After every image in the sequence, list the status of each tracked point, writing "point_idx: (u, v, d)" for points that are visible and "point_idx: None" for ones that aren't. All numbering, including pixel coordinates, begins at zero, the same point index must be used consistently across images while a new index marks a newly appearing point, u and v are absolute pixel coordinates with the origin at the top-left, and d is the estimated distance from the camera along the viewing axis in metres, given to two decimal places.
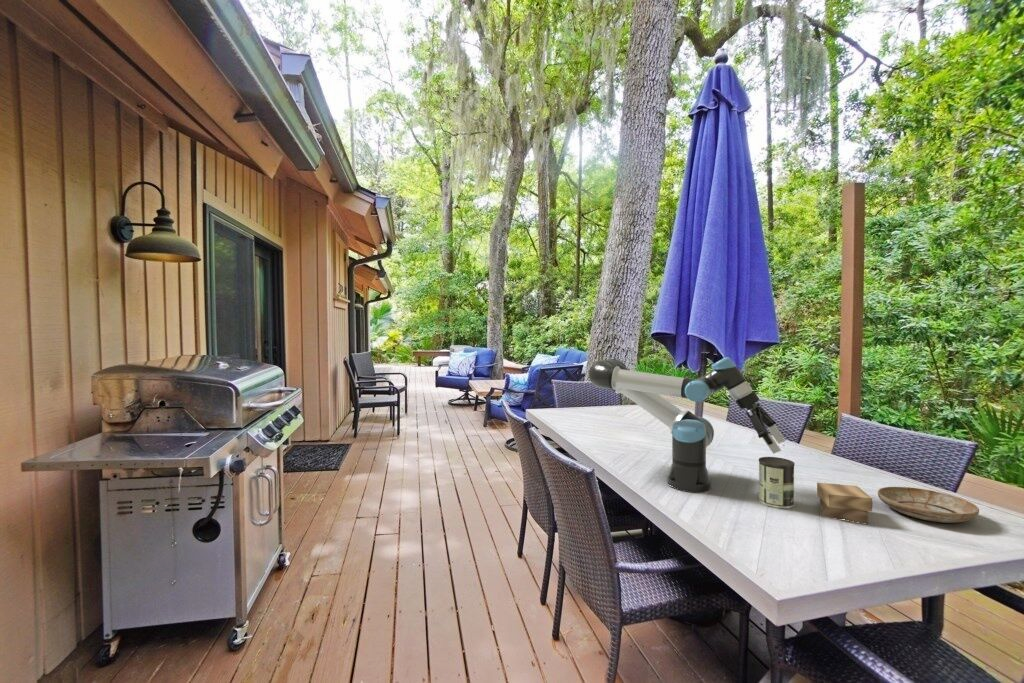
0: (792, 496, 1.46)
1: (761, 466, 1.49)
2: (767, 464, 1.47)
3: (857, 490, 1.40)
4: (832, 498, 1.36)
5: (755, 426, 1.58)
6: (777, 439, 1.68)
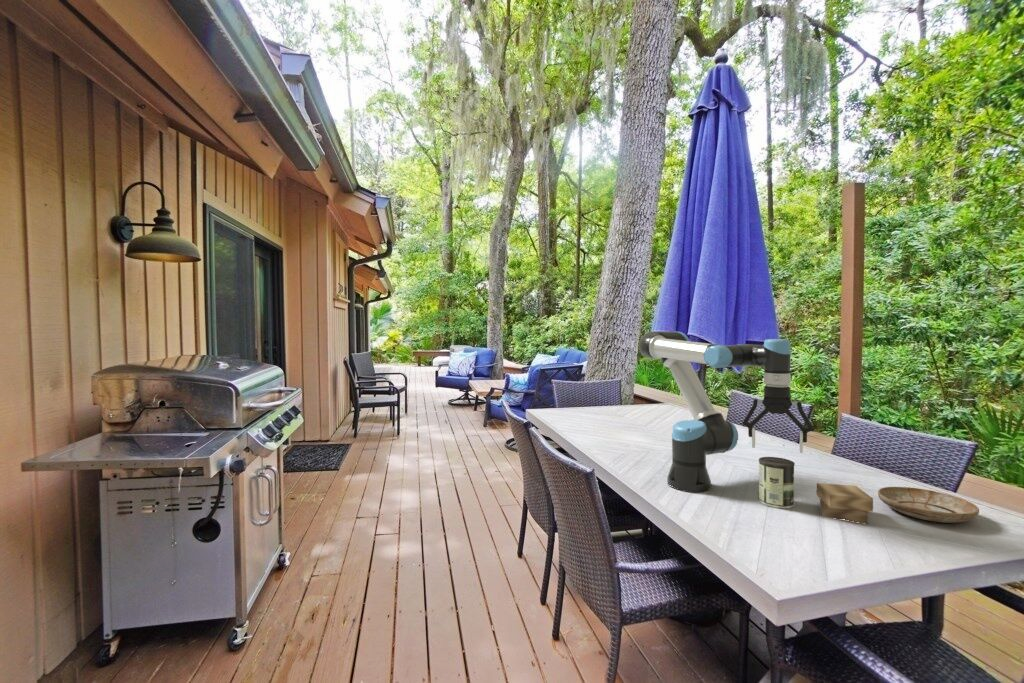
0: (792, 496, 1.46)
1: (761, 466, 1.49)
2: (767, 464, 1.47)
3: (856, 490, 1.40)
4: (833, 499, 1.36)
5: (747, 414, 1.54)
6: None
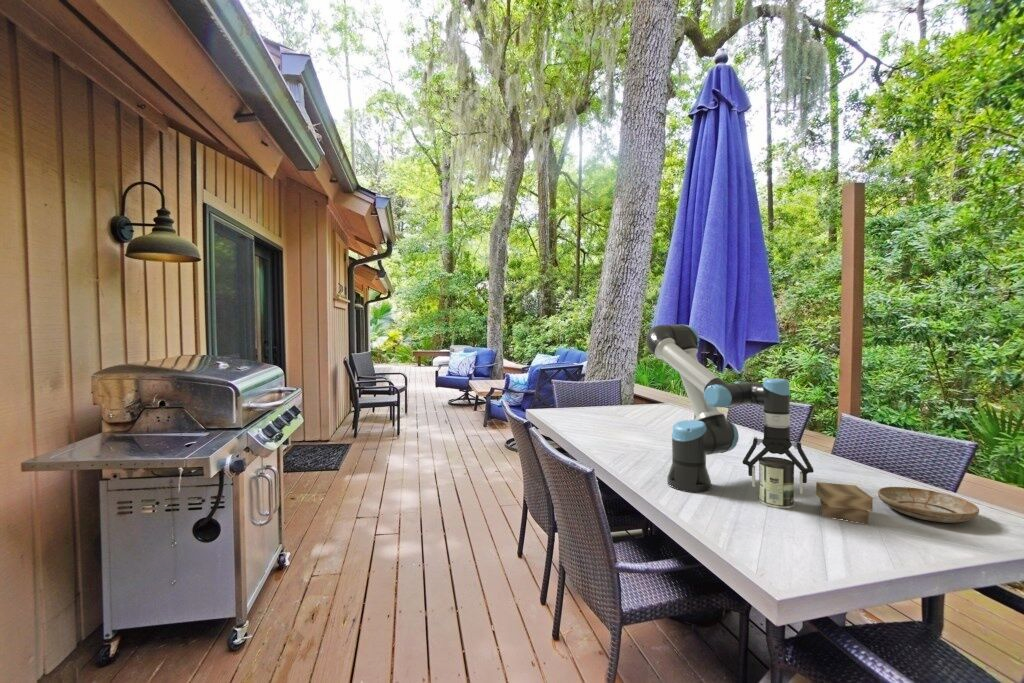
0: (792, 496, 1.46)
1: (761, 466, 1.49)
2: (767, 464, 1.47)
3: (856, 490, 1.40)
4: (833, 498, 1.36)
5: (747, 453, 1.54)
6: None
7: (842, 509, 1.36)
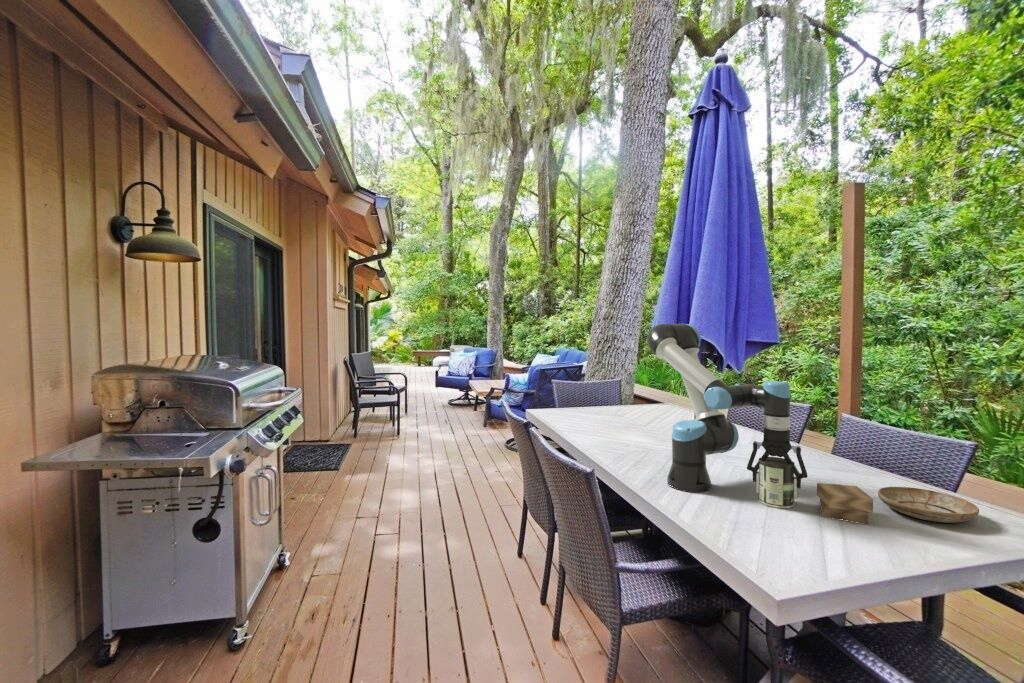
0: (792, 496, 1.46)
1: (761, 466, 1.49)
2: (767, 464, 1.47)
3: (857, 490, 1.39)
4: (833, 499, 1.36)
5: None
6: None
7: (842, 509, 1.36)
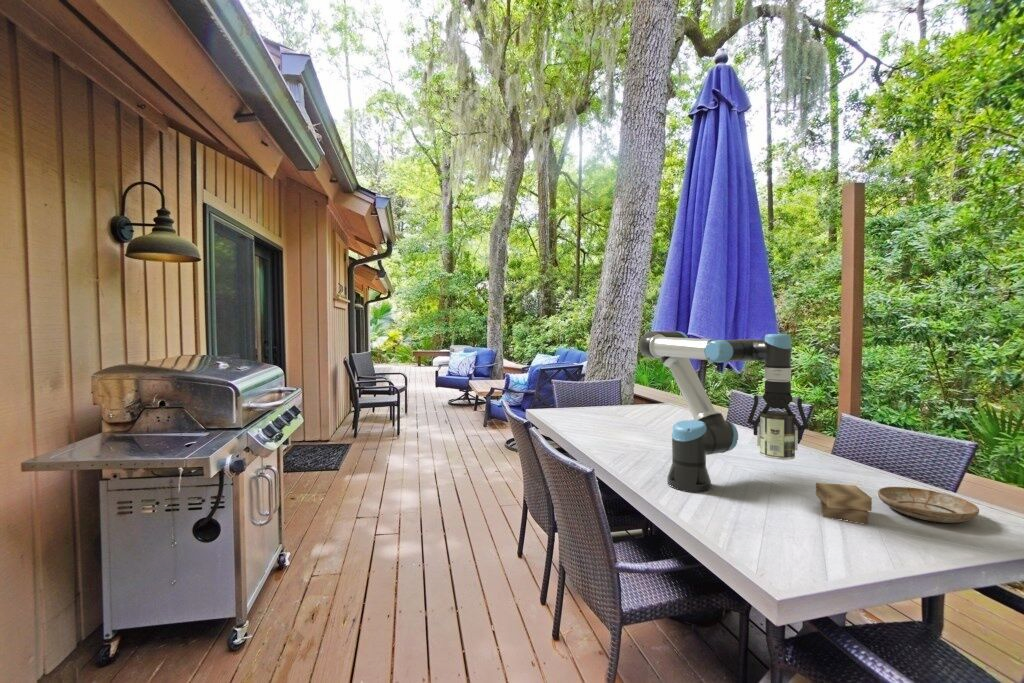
0: (793, 447, 1.45)
1: (762, 418, 1.49)
2: (768, 416, 1.46)
3: (855, 490, 1.40)
4: (832, 498, 1.36)
5: None
6: None
7: (842, 509, 1.36)
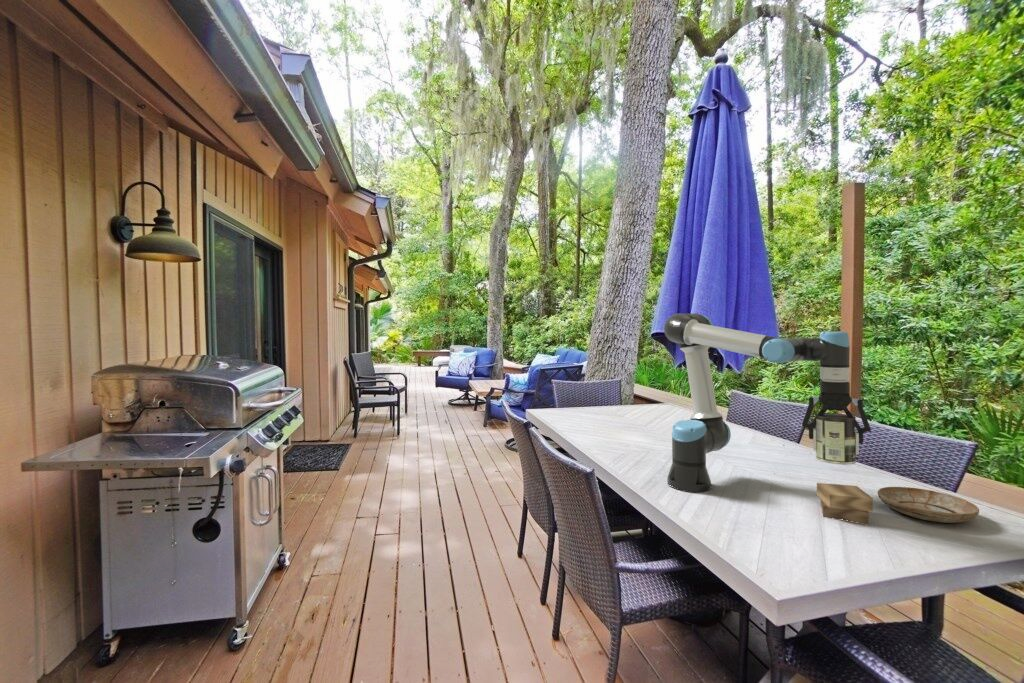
0: (854, 452, 1.37)
1: (819, 421, 1.40)
2: (826, 418, 1.38)
3: (857, 490, 1.39)
4: (833, 499, 1.36)
5: (805, 414, 1.45)
6: None
7: (842, 509, 1.36)
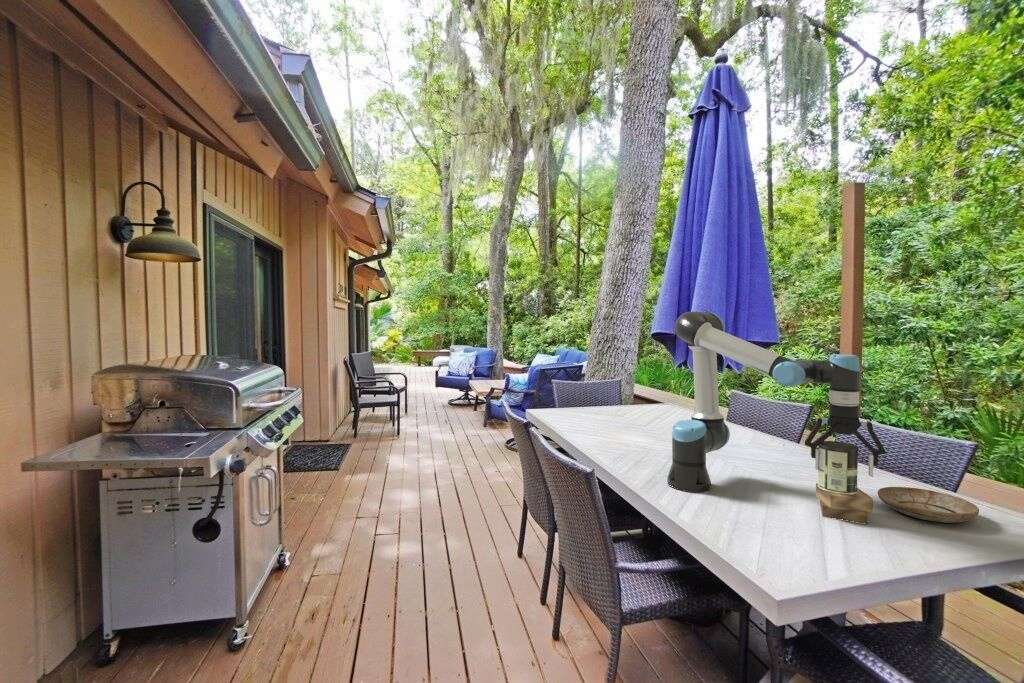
0: (856, 482, 1.37)
1: (822, 450, 1.40)
2: (829, 448, 1.38)
3: None
4: (833, 499, 1.36)
5: None
6: None
7: (842, 509, 1.36)
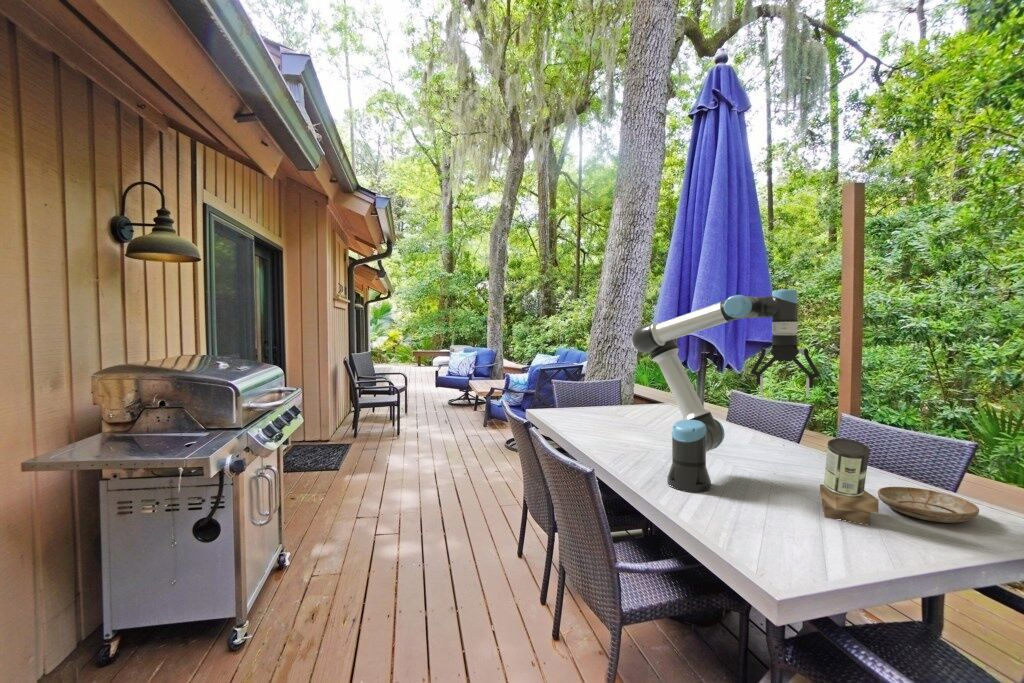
0: (864, 481, 1.35)
1: (834, 455, 1.35)
2: (843, 454, 1.32)
3: None
4: (839, 500, 1.35)
5: None
6: None
7: (844, 510, 1.35)
